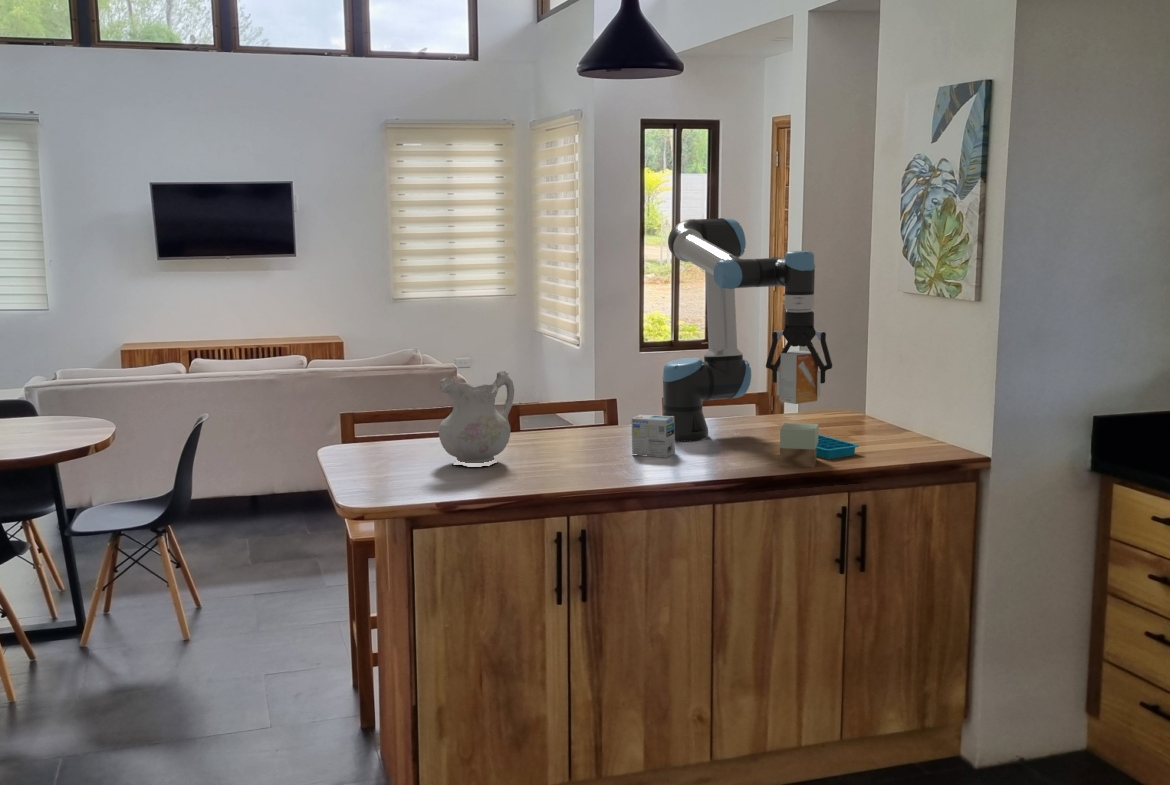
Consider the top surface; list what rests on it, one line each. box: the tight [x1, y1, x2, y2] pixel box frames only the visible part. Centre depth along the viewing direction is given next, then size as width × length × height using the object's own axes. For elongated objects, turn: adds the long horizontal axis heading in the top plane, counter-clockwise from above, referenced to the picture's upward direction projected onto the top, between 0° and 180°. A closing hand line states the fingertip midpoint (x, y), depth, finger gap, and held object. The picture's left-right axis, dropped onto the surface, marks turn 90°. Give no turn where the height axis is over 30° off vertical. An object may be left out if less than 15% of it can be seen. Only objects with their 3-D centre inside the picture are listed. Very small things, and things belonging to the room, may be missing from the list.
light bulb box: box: [631, 414, 676, 458], centre depth 302 cm, size 11×7×11 cm, turn 65°
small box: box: [779, 350, 819, 405], centre depth 284 cm, size 8×6×13 cm
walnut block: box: [779, 446, 817, 468], centre depth 288 cm, size 9×9×5 cm
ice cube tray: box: [816, 433, 860, 460], centre depth 302 cm, size 12×20×3 cm, turn 27°
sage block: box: [779, 422, 819, 450], centre depth 287 cm, size 9×9×5 cm
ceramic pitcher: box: [438, 370, 515, 463], centre depth 295 cm, size 22×20×25 cm
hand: (798, 395), depth 285 cm, fingers closed on small box, 10 cm apart
